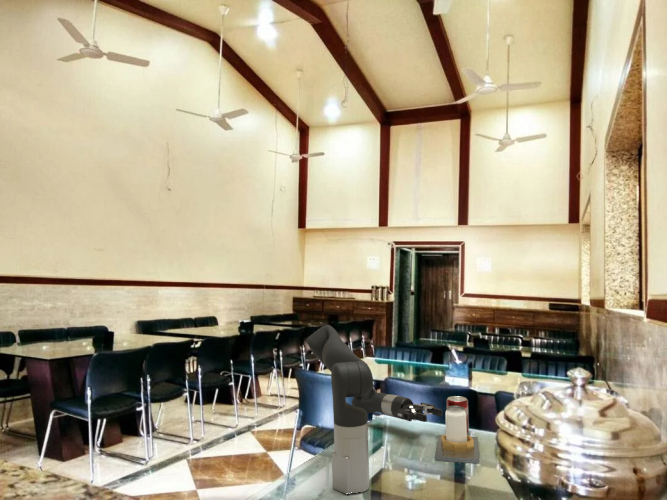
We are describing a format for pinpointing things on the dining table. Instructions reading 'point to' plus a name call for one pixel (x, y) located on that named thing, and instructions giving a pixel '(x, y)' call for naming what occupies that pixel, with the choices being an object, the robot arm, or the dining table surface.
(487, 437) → the dining table surface
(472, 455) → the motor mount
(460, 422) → the can
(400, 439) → the dining table surface
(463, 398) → the soda can
